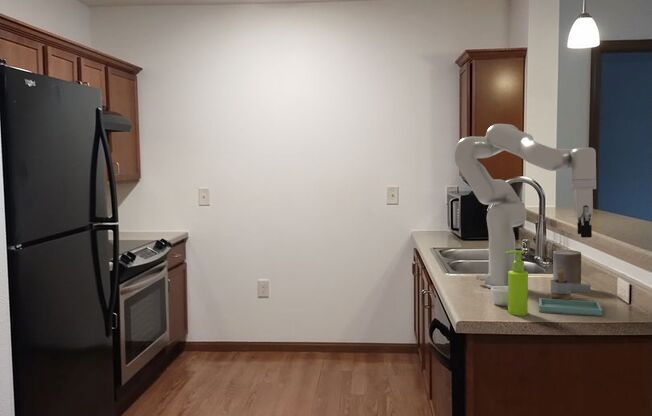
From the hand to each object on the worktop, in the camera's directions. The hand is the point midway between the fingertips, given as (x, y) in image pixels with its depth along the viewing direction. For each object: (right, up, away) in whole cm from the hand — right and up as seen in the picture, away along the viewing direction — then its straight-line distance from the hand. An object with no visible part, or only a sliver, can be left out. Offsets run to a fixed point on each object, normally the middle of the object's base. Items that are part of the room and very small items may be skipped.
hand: (584, 235), depth 190 cm
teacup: (-28, -23, +1) cm, 36 cm away
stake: (-7, -23, +1) cm, 24 cm away
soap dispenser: (-27, -24, -11) cm, 38 cm away
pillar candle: (+3, -21, +21) cm, 29 cm away
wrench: (-5, -19, 0) cm, 20 cm away
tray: (-9, -23, -8) cm, 26 cm away
